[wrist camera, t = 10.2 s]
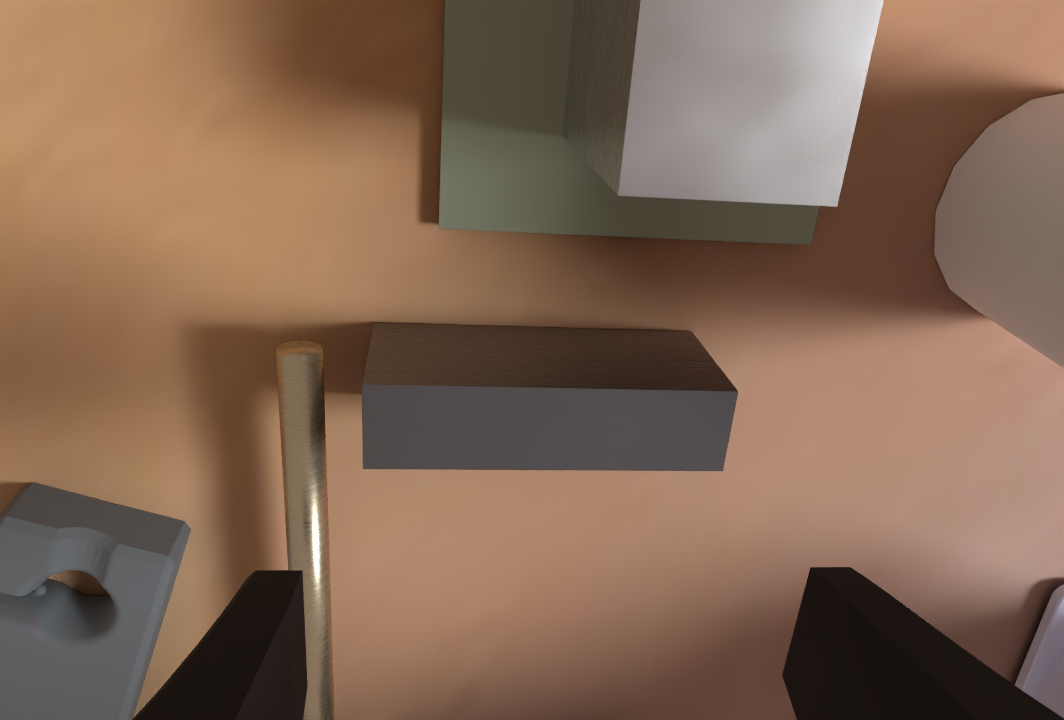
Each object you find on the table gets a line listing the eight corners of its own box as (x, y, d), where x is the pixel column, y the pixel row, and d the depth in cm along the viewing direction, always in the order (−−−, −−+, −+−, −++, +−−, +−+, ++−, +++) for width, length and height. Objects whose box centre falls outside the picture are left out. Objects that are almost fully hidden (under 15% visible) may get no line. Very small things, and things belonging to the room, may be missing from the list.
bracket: (-33, 767, 25) (-72, 833, 23) (31, 469, 21) (-10, 518, 19) (112, 791, 26) (86, 856, 24) (197, 512, 22) (175, 562, 20)
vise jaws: (691, 331, 21) (738, 391, 18) (619, 776, 27) (643, 879, 24) (289, 319, 19) (260, 382, 16) (312, 789, 26) (294, 900, 23)
